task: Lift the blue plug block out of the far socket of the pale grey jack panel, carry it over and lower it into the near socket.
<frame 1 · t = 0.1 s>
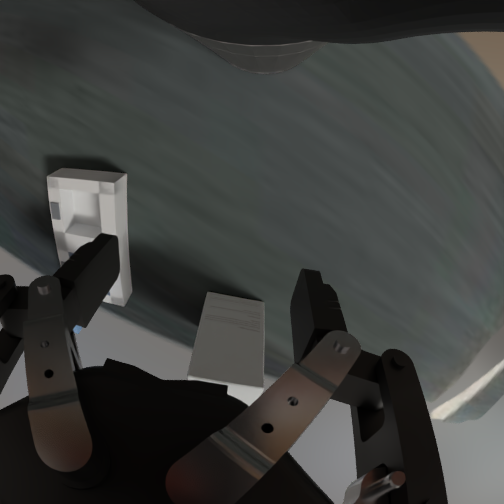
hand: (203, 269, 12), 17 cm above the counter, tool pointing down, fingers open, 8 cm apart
jack panel: (96, 233, 32), on the counter
supplement box: (232, 315, 37), on the counter
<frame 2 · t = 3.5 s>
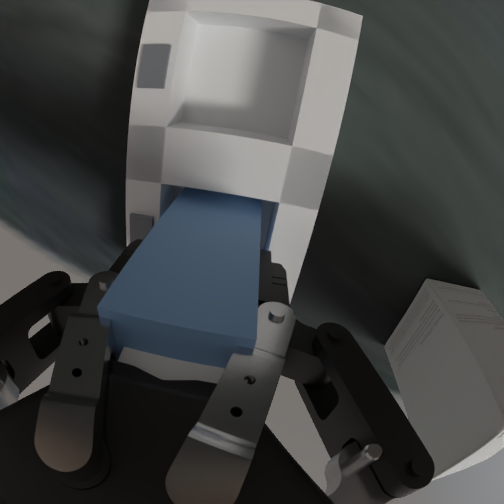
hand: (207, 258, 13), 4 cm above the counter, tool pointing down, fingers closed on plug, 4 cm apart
plug: (219, 223, 16), resting on jack panel, touching gripper
jack panel: (230, 151, 15), on the counter
supplement box: (434, 317, 20), on the counter
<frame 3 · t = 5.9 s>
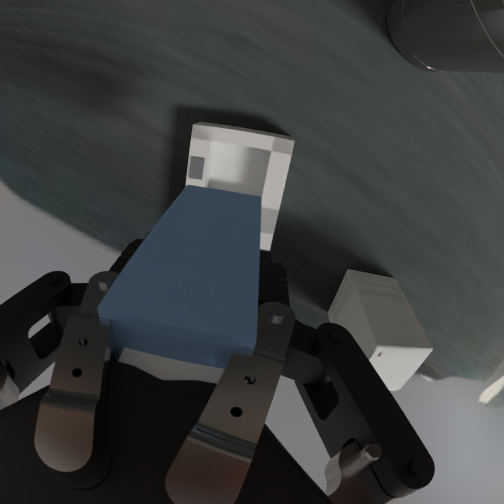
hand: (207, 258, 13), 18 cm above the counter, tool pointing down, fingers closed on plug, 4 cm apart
plug: (219, 224, 16), point 14 cm above the counter, touching gripper
jack panel: (232, 203, 30), on the counter
supplement box: (361, 294, 36), on the counter
when the fingers open (5 cm above the counter, at t = 8.8 s): plug stays where it is, resting on jack panel.
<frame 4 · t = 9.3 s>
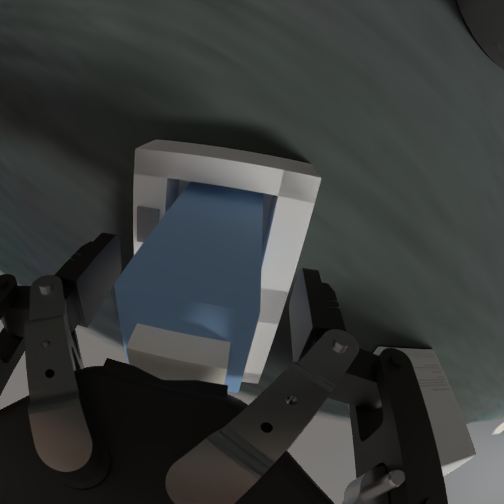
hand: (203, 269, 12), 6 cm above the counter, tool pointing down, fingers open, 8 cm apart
plug: (222, 217, 17), resting on jack panel
jack panel: (215, 268, 19), on the counter
supplement box: (389, 369, 25), on the counter
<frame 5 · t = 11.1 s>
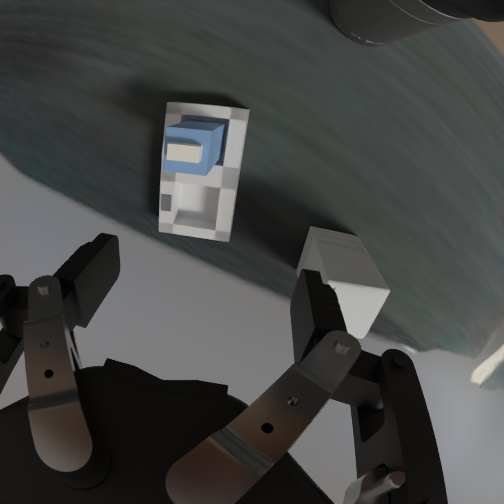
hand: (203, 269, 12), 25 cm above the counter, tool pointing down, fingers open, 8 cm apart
plug: (207, 137, 32), resting on jack panel
jack panel: (203, 168, 35), on the counter
supplement box: (327, 252, 40), on the counter
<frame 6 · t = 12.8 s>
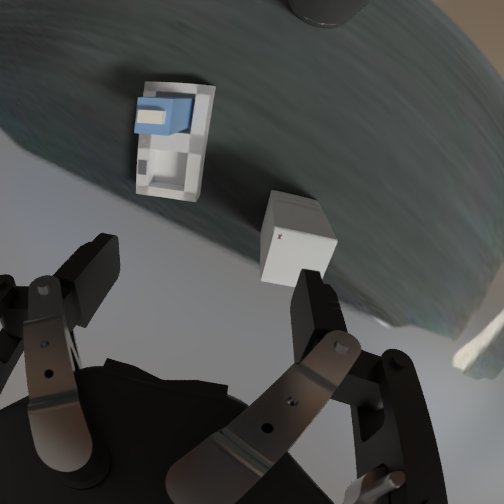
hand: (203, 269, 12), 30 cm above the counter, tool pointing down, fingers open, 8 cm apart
plug: (179, 111, 35), resting on jack panel
jack panel: (176, 138, 38), on the counter
supplement box: (289, 216, 43), on the counter
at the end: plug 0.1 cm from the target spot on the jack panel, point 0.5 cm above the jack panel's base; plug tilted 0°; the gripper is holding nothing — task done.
